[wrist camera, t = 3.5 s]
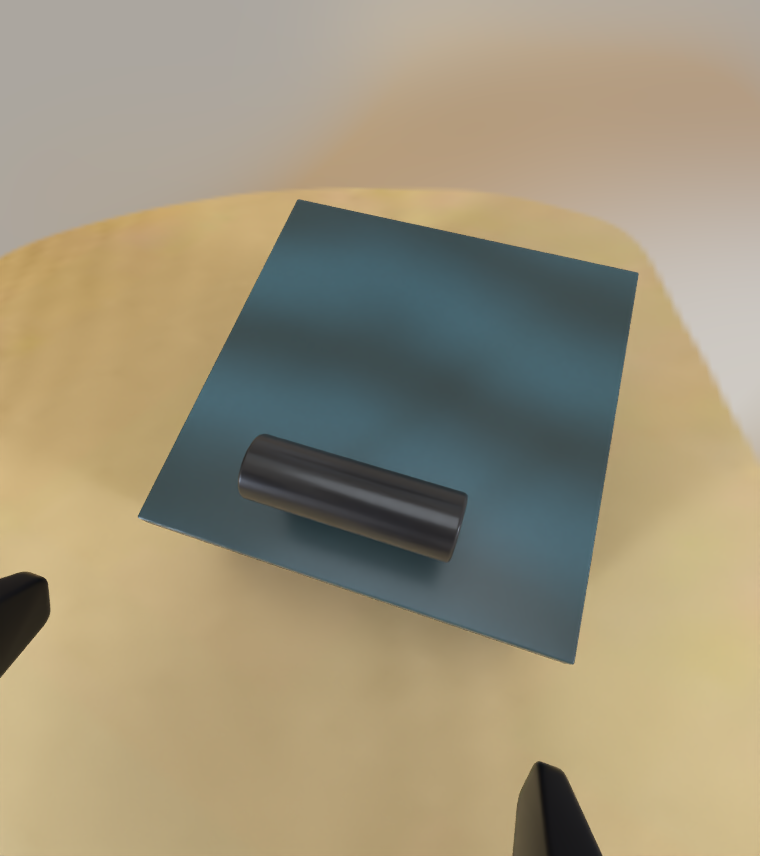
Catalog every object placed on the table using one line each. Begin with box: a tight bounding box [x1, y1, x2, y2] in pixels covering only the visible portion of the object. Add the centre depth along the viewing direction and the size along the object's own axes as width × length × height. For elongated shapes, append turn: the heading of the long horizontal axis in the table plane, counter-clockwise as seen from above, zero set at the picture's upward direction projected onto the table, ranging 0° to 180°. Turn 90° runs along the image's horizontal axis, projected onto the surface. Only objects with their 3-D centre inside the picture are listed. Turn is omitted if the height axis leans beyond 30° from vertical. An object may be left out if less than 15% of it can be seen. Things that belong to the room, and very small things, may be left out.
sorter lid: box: [138, 199, 638, 664], centre depth 15 cm, size 13×12×4 cm
